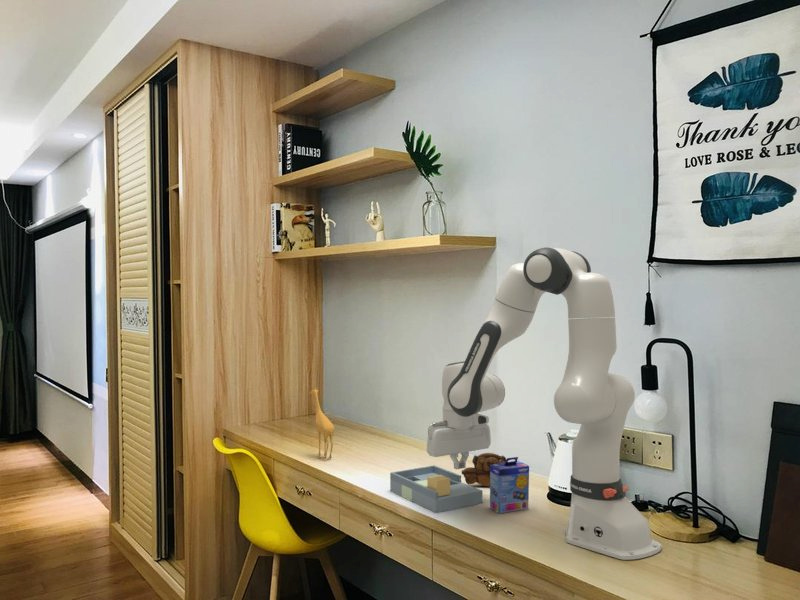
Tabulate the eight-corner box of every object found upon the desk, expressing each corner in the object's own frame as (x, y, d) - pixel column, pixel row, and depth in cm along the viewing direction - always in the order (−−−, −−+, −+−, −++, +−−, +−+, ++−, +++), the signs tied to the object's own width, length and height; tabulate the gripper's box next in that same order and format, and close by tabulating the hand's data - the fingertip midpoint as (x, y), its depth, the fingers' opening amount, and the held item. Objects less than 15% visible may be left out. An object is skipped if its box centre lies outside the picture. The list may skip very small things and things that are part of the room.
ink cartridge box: (499, 514, 177) (499, 460, 177) (488, 508, 182) (488, 455, 182) (530, 509, 181) (530, 456, 181) (519, 503, 186) (518, 452, 186)
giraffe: (305, 454, 246) (305, 387, 246) (316, 452, 249) (315, 386, 249) (327, 463, 233) (326, 392, 233) (338, 461, 236) (337, 390, 235)
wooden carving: (464, 489, 200) (464, 456, 200) (460, 485, 205) (460, 453, 205) (516, 487, 203) (516, 454, 203) (512, 482, 207) (511, 451, 207)
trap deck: (482, 502, 187) (482, 483, 187) (435, 512, 179) (435, 492, 179) (434, 482, 208) (434, 465, 208) (390, 490, 199) (390, 472, 199)
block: (450, 495, 183) (450, 478, 183) (436, 498, 180) (436, 480, 180) (440, 491, 187) (440, 474, 187) (427, 493, 184) (427, 477, 184)
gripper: (434, 424, 178) (436, 476, 178) (493, 416, 189) (494, 465, 189) (421, 421, 184) (422, 471, 184) (479, 414, 195) (480, 461, 194)
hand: (459, 468), depth 186 cm, fingers closed
